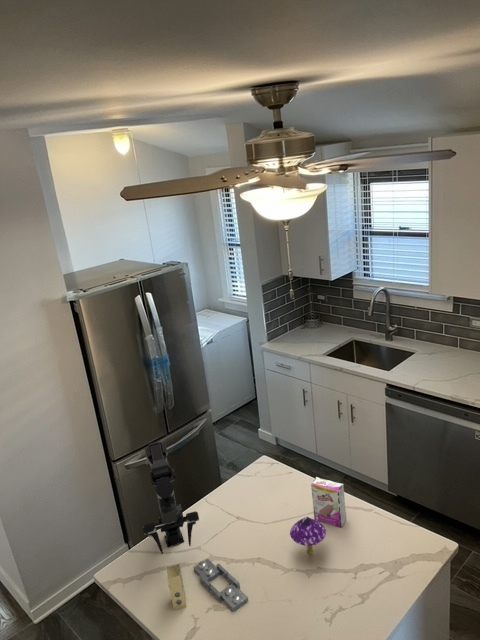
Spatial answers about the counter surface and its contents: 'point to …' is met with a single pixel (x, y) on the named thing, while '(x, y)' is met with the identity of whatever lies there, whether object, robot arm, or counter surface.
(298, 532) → the decorative mushroom
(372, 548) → the counter surface
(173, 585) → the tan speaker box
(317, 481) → the candy bar box
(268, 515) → the counter surface
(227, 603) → the chain ends
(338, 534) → the counter surface
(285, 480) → the counter surface
